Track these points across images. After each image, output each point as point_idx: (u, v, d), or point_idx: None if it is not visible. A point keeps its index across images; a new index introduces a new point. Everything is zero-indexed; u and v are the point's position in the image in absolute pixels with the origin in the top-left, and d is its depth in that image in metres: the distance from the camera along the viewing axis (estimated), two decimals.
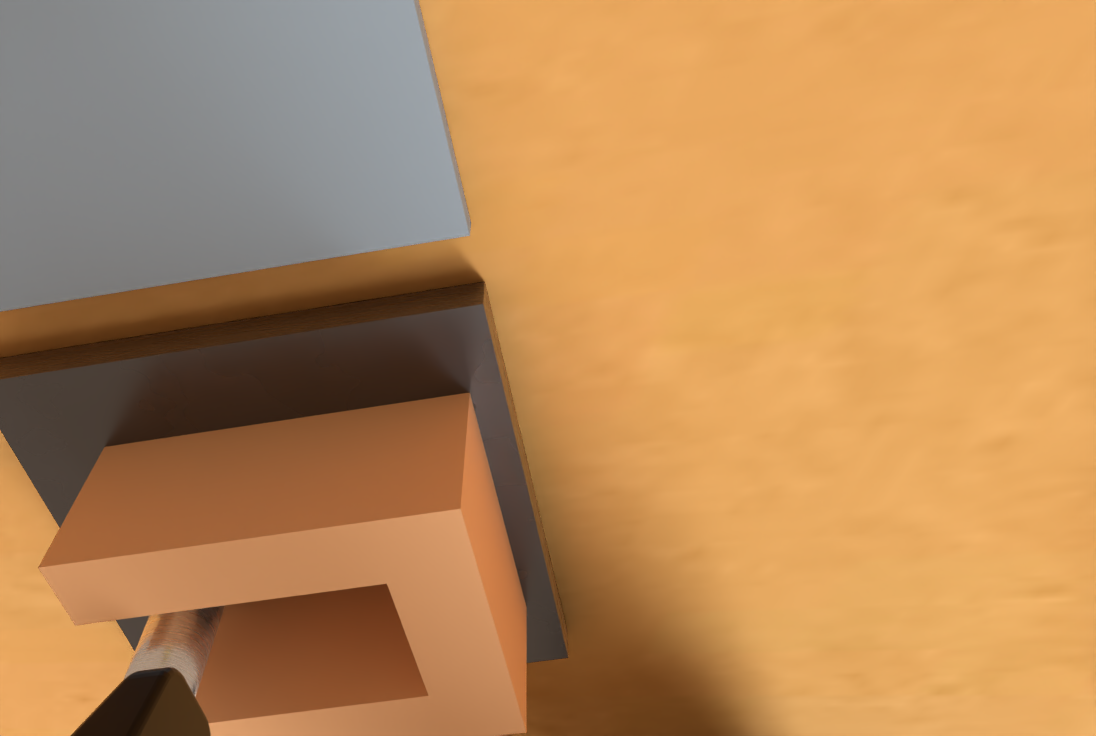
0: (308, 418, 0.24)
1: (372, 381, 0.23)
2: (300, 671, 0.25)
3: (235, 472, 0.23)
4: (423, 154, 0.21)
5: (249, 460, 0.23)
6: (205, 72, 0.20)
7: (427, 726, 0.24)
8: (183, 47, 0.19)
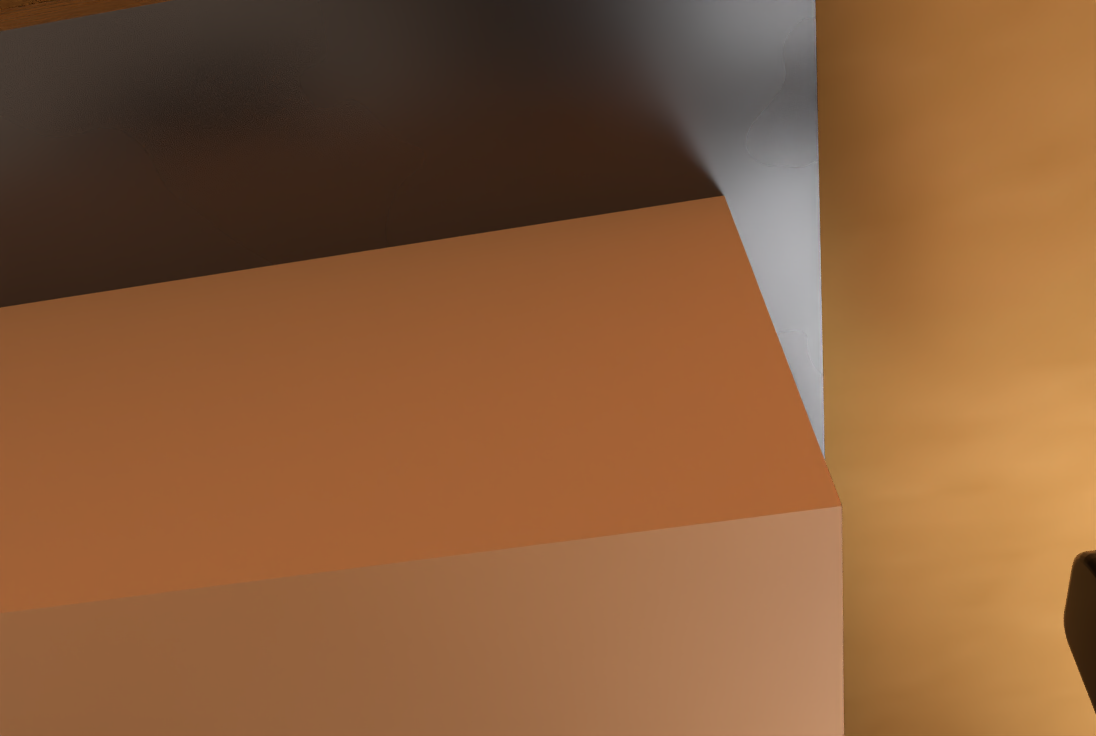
0: (280, 268, 0.09)
1: (458, 156, 0.08)
2: None
3: (55, 400, 0.08)
4: None
5: (104, 368, 0.08)
6: None
7: None
8: None
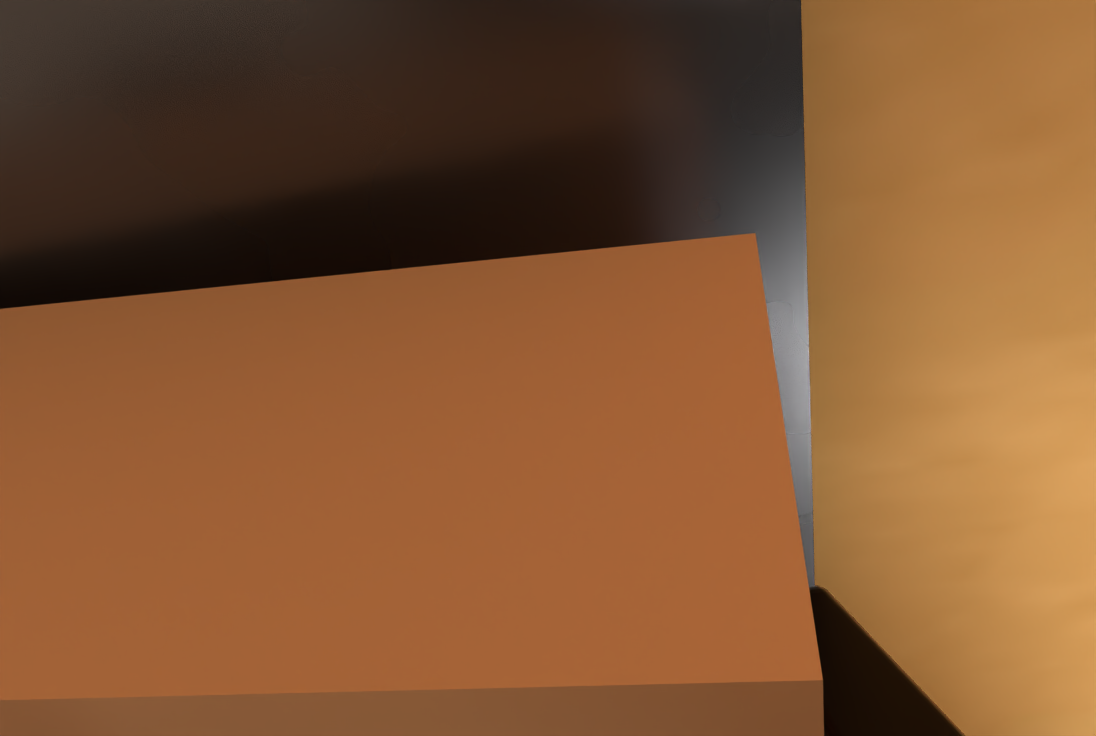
0: (259, 288, 0.08)
1: (442, 125, 0.08)
2: None
3: None
4: None
5: (47, 394, 0.07)
6: None
7: None
8: None
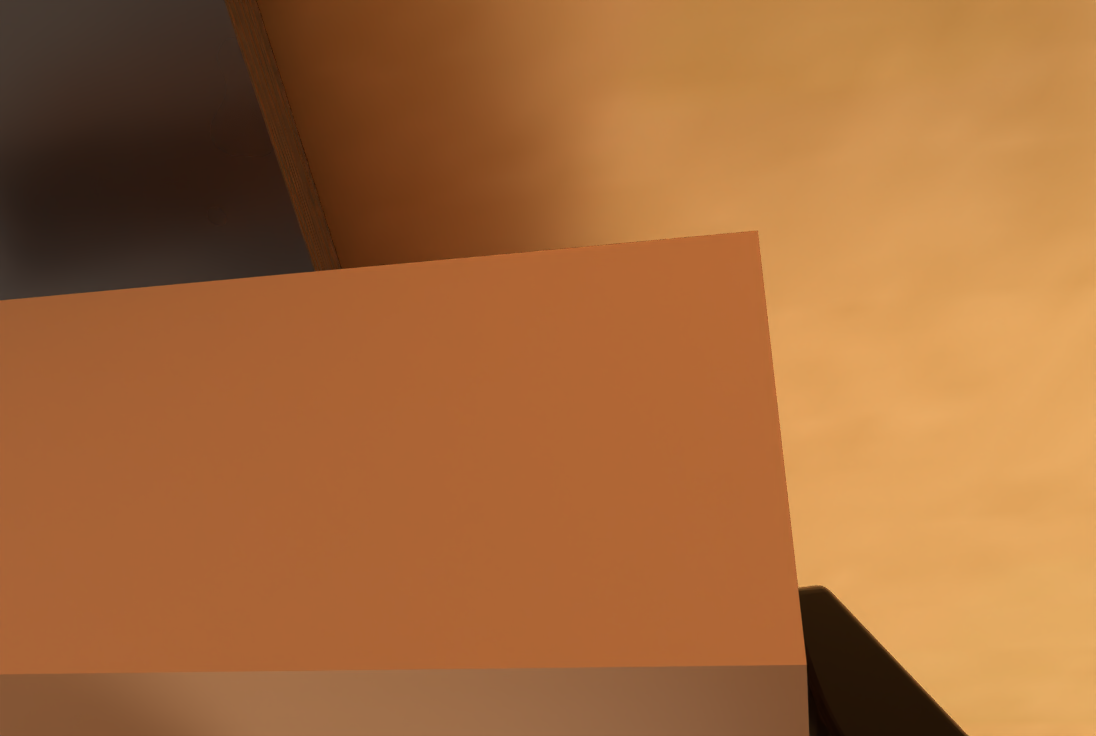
0: (269, 280, 0.08)
1: None
2: None
3: (1, 416, 0.07)
4: None
5: (60, 383, 0.07)
6: None
7: None
8: None
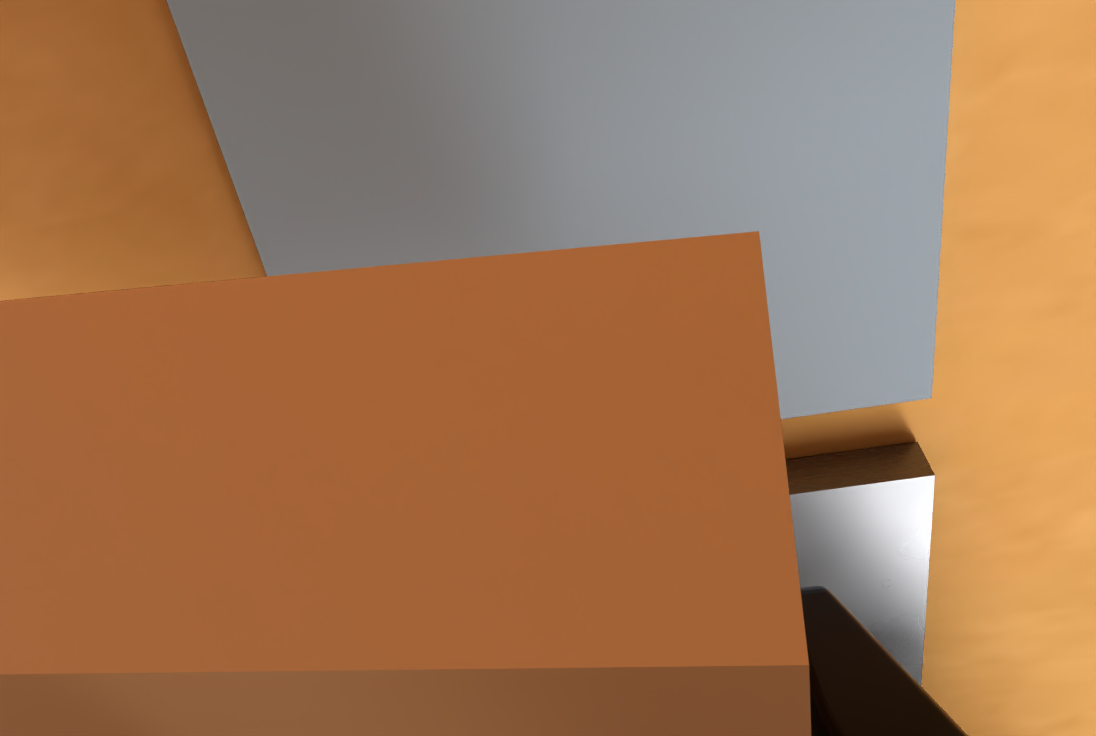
0: (268, 281, 0.08)
1: None
2: None
3: (1, 416, 0.07)
4: (904, 310, 0.17)
5: (59, 383, 0.07)
6: (671, 218, 0.16)
7: None
8: (651, 190, 0.16)
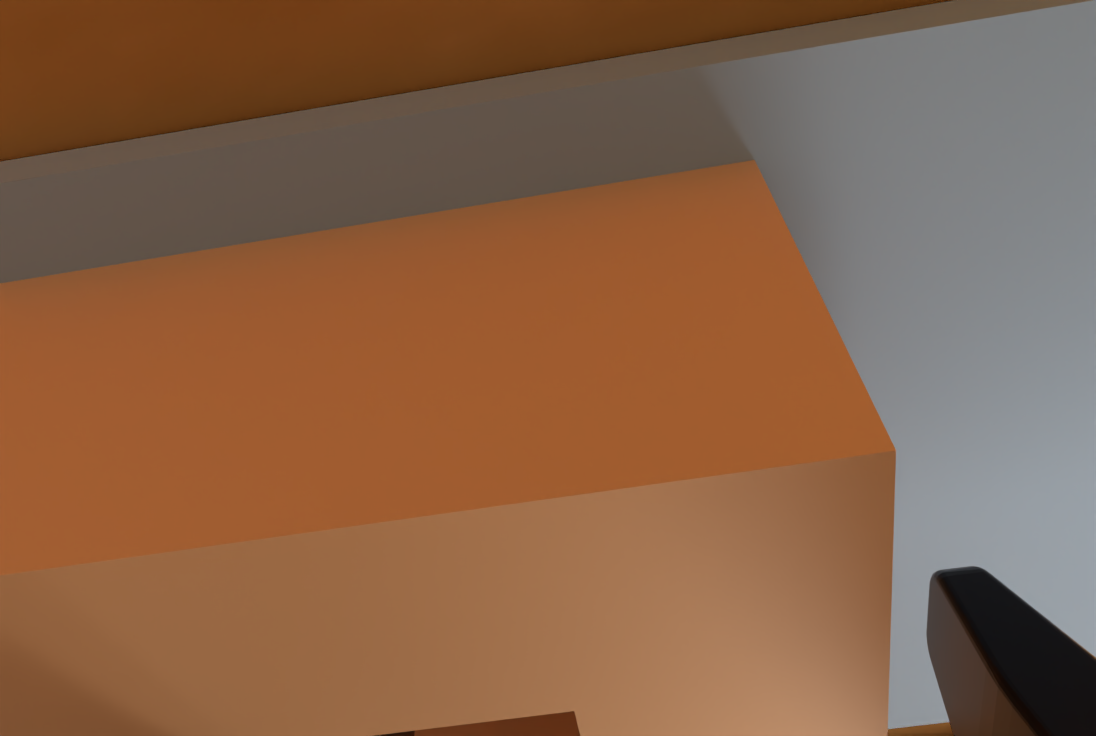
0: (313, 236, 0.09)
1: None
2: None
3: (99, 365, 0.08)
4: (1082, 602, 0.12)
5: (144, 333, 0.08)
6: None
7: None
8: None
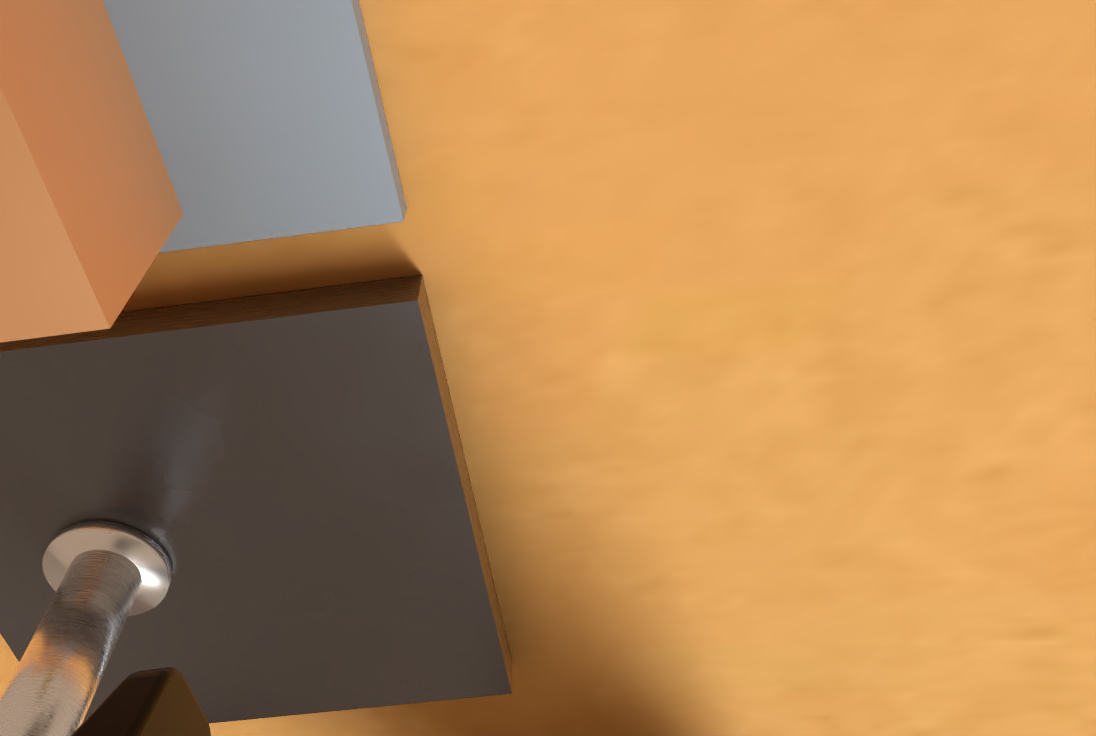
0: None
1: (291, 383, 0.21)
2: None
3: None
4: (349, 126, 0.18)
5: None
6: None
7: None
8: None
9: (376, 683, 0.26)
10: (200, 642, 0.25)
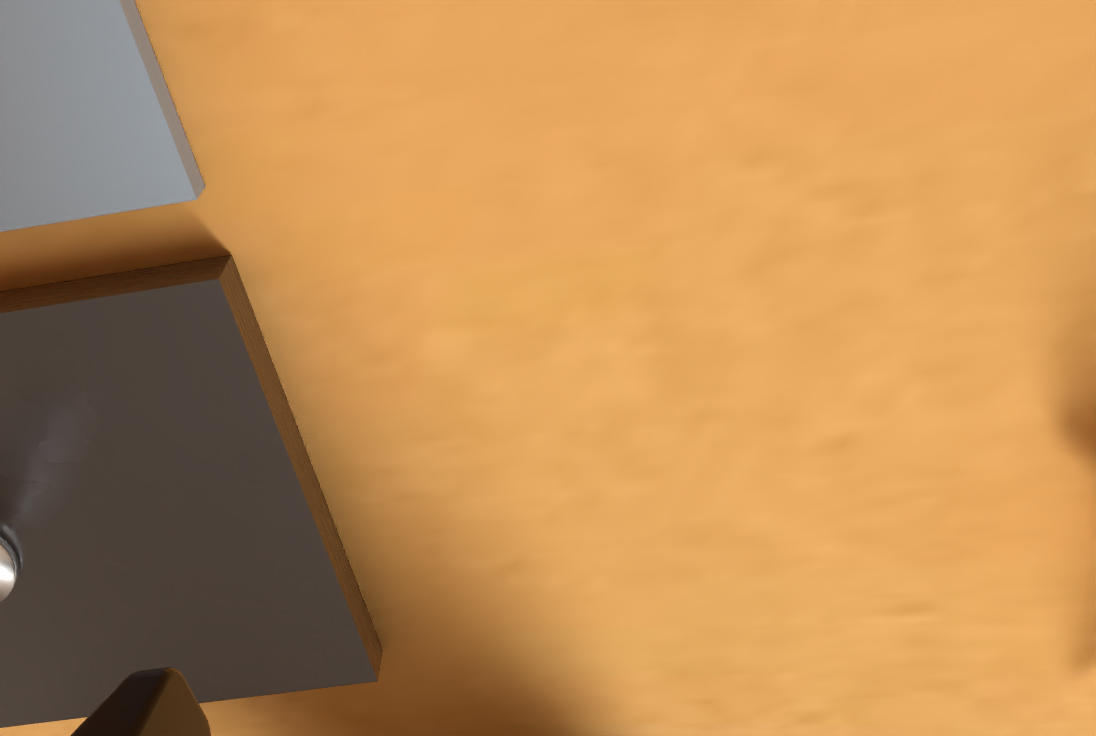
0: None
1: (106, 367, 0.21)
2: None
3: None
4: (128, 104, 0.18)
5: None
6: None
7: None
8: None
9: (240, 673, 0.26)
10: (58, 635, 0.25)
